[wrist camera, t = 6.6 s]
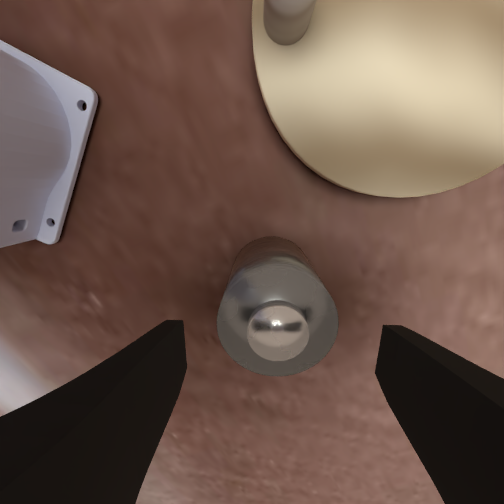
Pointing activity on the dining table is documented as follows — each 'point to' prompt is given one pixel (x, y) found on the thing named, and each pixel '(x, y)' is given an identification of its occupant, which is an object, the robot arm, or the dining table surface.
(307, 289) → the grey short cylinder
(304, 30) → the turntable
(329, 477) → the dining table surface
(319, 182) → the dining table surface
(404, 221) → the dining table surface
